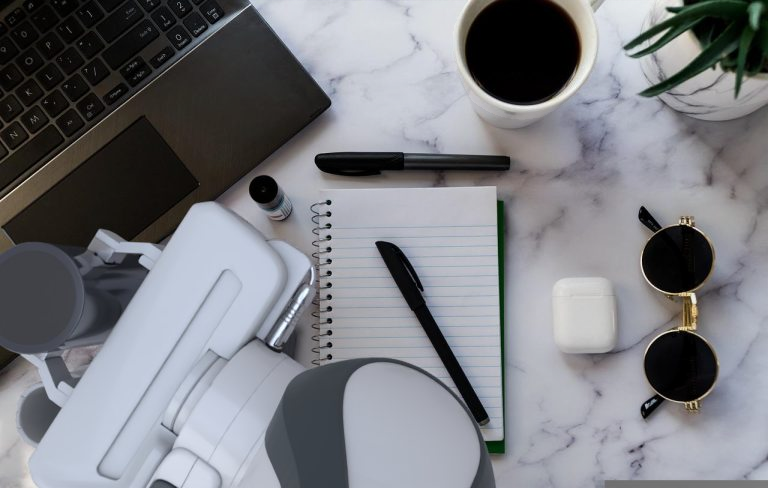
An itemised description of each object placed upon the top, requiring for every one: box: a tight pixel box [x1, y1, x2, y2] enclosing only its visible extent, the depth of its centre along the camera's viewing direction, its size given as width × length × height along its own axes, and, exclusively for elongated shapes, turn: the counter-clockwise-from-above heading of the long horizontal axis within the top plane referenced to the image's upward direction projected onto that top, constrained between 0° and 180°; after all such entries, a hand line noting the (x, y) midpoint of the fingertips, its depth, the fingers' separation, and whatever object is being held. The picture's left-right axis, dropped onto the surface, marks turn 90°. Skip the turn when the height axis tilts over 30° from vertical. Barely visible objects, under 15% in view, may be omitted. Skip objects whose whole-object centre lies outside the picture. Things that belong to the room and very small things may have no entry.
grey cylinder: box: [0, 241, 150, 355], centre depth 41 cm, size 6×6×10 cm
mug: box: [14, 363, 90, 449], centre depth 62 cm, size 8×12×12 cm, turn 89°
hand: (64, 290), depth 41 cm, fingers closed on grey cylinder, 6 cm apart
